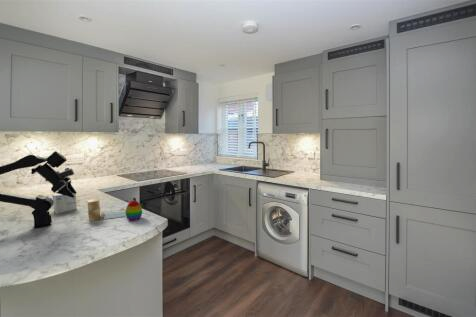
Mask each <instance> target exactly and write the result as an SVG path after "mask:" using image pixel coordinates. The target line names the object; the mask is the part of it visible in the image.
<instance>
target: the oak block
mask: <svg viewBox="0 0 476 317" xmlns="http://www.w3.org/2000/svg"><path fill="white" fill-rule="evenodd" d="M87 214H88V221H97V220H98V221H99V220H100V216H101V208H100V198H93V199H88V200H87Z"/></svg>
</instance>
